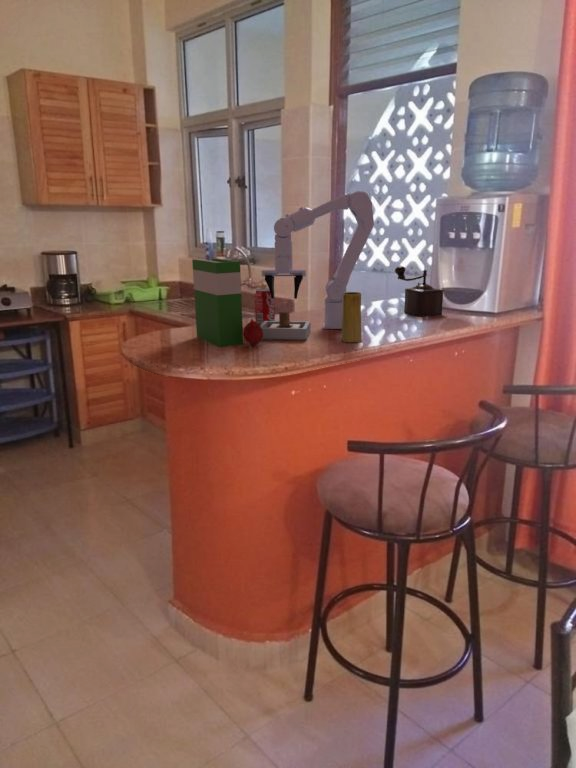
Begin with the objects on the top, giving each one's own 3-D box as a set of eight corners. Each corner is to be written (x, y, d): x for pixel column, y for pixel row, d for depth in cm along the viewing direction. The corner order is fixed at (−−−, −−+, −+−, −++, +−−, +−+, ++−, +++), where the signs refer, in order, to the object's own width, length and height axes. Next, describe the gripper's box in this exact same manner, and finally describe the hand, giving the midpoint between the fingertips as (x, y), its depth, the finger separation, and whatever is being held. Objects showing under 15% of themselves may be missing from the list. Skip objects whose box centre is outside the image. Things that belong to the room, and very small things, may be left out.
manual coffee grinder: (424, 310, 221) (427, 264, 216) (442, 315, 211) (445, 266, 206) (391, 314, 215) (392, 265, 210) (407, 318, 205) (410, 268, 200)
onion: (266, 344, 166) (265, 317, 164) (259, 348, 161) (258, 320, 158) (248, 343, 168) (247, 316, 165) (240, 347, 162) (239, 320, 160)
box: (310, 332, 183) (310, 321, 182) (306, 340, 170) (306, 328, 169) (264, 331, 185) (264, 320, 184) (257, 340, 172) (256, 328, 171)
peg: (290, 333, 179) (290, 311, 177) (288, 335, 176) (288, 313, 174) (280, 333, 179) (280, 311, 177) (278, 335, 176) (278, 312, 174)
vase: (348, 344, 165) (349, 295, 161) (337, 340, 170) (337, 292, 166) (365, 341, 168) (366, 293, 164) (354, 338, 173) (354, 291, 169)
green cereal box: (197, 337, 178) (192, 259, 171) (218, 334, 181) (214, 258, 175) (220, 347, 163) (216, 262, 157) (243, 344, 167) (240, 261, 160)
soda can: (276, 322, 202) (275, 288, 198) (273, 325, 195) (273, 290, 192) (256, 322, 202) (255, 288, 199) (253, 325, 196) (252, 290, 192)
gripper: (259, 257, 182) (260, 299, 185) (304, 257, 180) (304, 300, 183) (263, 256, 188) (264, 297, 192) (306, 255, 186) (306, 297, 190)
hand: (284, 298), depth 188 cm, fingers open, 7 cm apart
